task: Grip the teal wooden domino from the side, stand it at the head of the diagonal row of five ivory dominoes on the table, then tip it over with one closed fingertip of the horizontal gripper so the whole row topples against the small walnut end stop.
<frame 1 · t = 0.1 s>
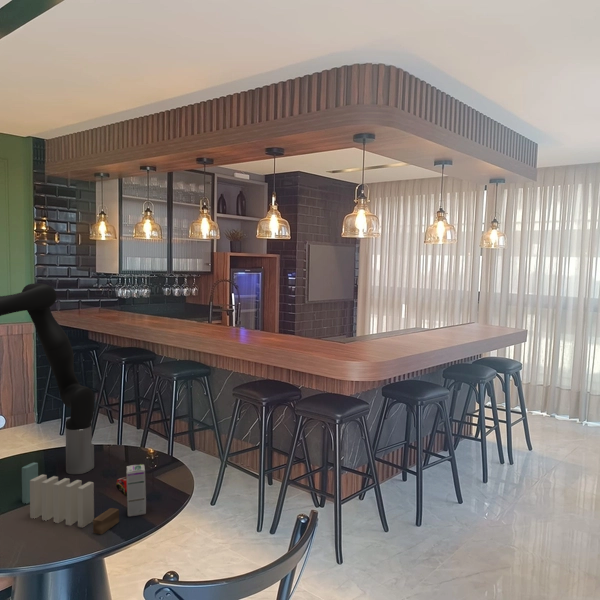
domino 3: (62, 519, 157), on the table
syrup box: (136, 512, 163), on the table
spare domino: (30, 500, 170), on the table
domino 5: (86, 523, 155), on the table
domino 1: (38, 514, 160), on the table
domino 4: (73, 521, 156), on the table
domino 2: (50, 516, 159), on the table
race car: (128, 491, 179), on the table
end stop: (106, 527, 153), on the table
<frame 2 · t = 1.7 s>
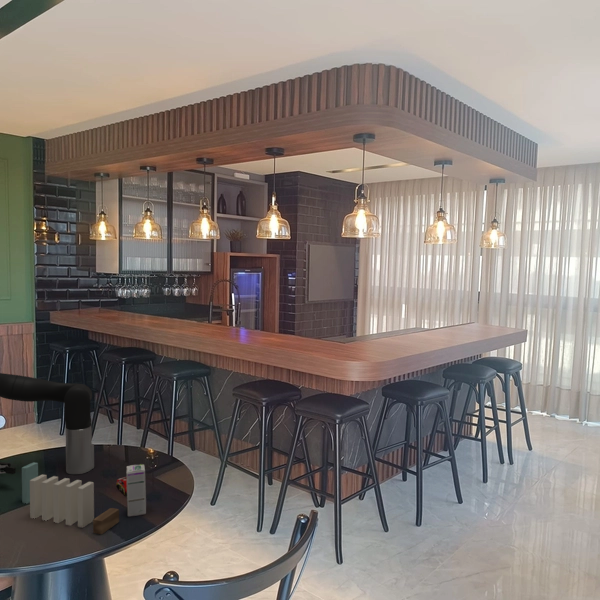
hand: (4, 475, 173), 7 cm above the table, tool horizontal, fingers open, 8 cm apart
nothing on the table moved.
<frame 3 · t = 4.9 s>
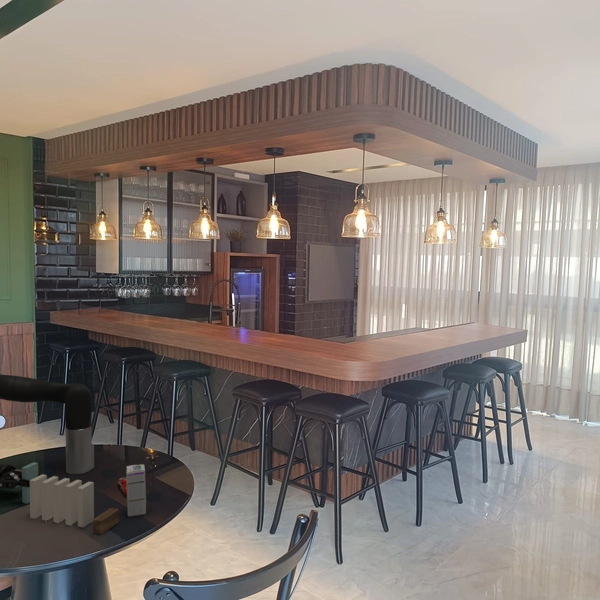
hand: (36, 480, 169), 7 cm above the table, tool horizontal, fingers closed on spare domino, 5 cm apart
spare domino: (30, 500, 170), on the table, touching gripper
everything else where it was.
when the fingers open (8 cm above the table, at t = 9.6 s): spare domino stays where it is, on the table.
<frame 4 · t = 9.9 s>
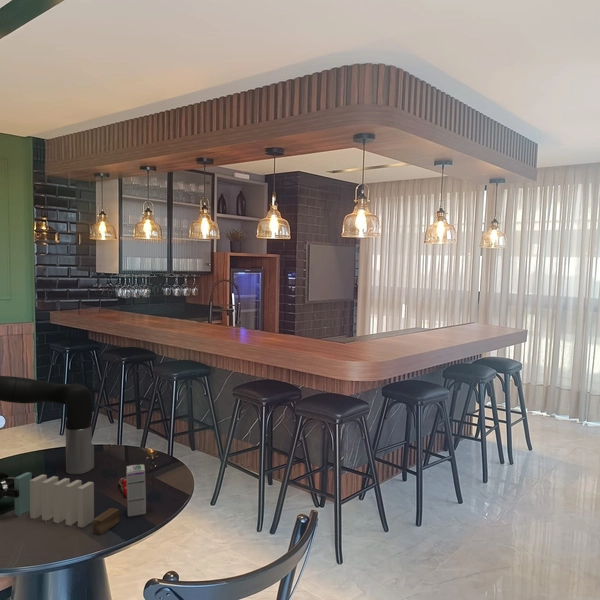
hand: (28, 489, 161), 8 cm above the table, tool horizontal, fingers open, 7 cm apart
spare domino: (23, 512, 162), on the table
everything else where it was.
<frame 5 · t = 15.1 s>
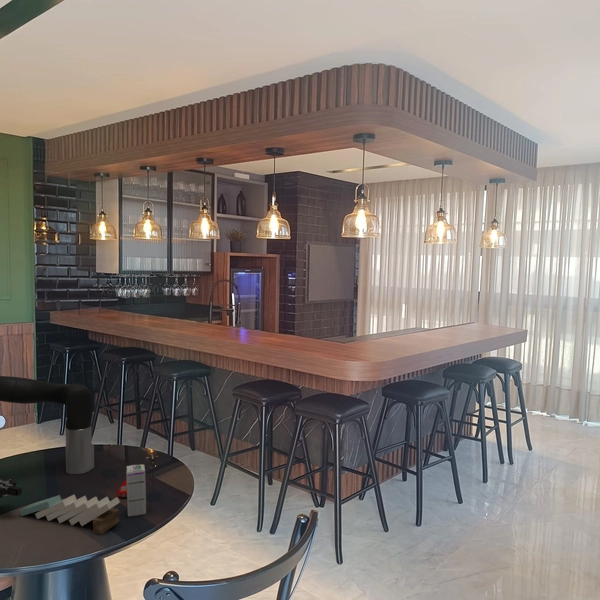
hand: (19, 492, 158), 8 cm above the table, tool horizontal, fingers closed
domino 3: (64, 517, 157), point 1 cm above the table, tilted 59°, touching domino 2, domino 4
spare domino: (26, 510, 161), point 1 cm above the table, tilted 68°, touching domino 1
domino 5: (86, 519, 155), point 1 cm above the table, tilted 56°, touching domino 4, end stop
domino 1: (42, 512, 160), point 1 cm above the table, tilted 62°, touching domino 2, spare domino
domino 4: (76, 519, 156), point 1 cm above the table, tilted 56°, touching domino 3, domino 5
domino 2: (53, 514, 158), point 1 cm above the table, tilted 61°, touching domino 1, domino 3
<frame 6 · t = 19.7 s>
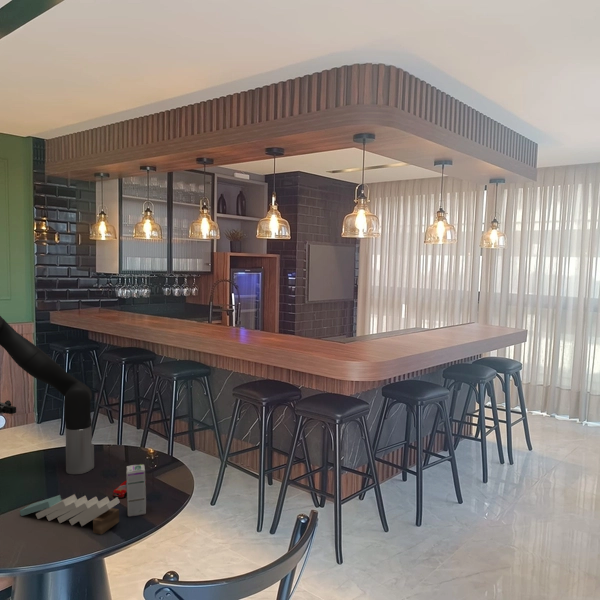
hand: (14, 410, 171), 30 cm above the table, tool horizontal, fingers closed
at the end: domino 5 tilted 56°; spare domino tilted 68°; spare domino inside the target area (0.7 cm from its centre), point 0.8 cm above the table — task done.
